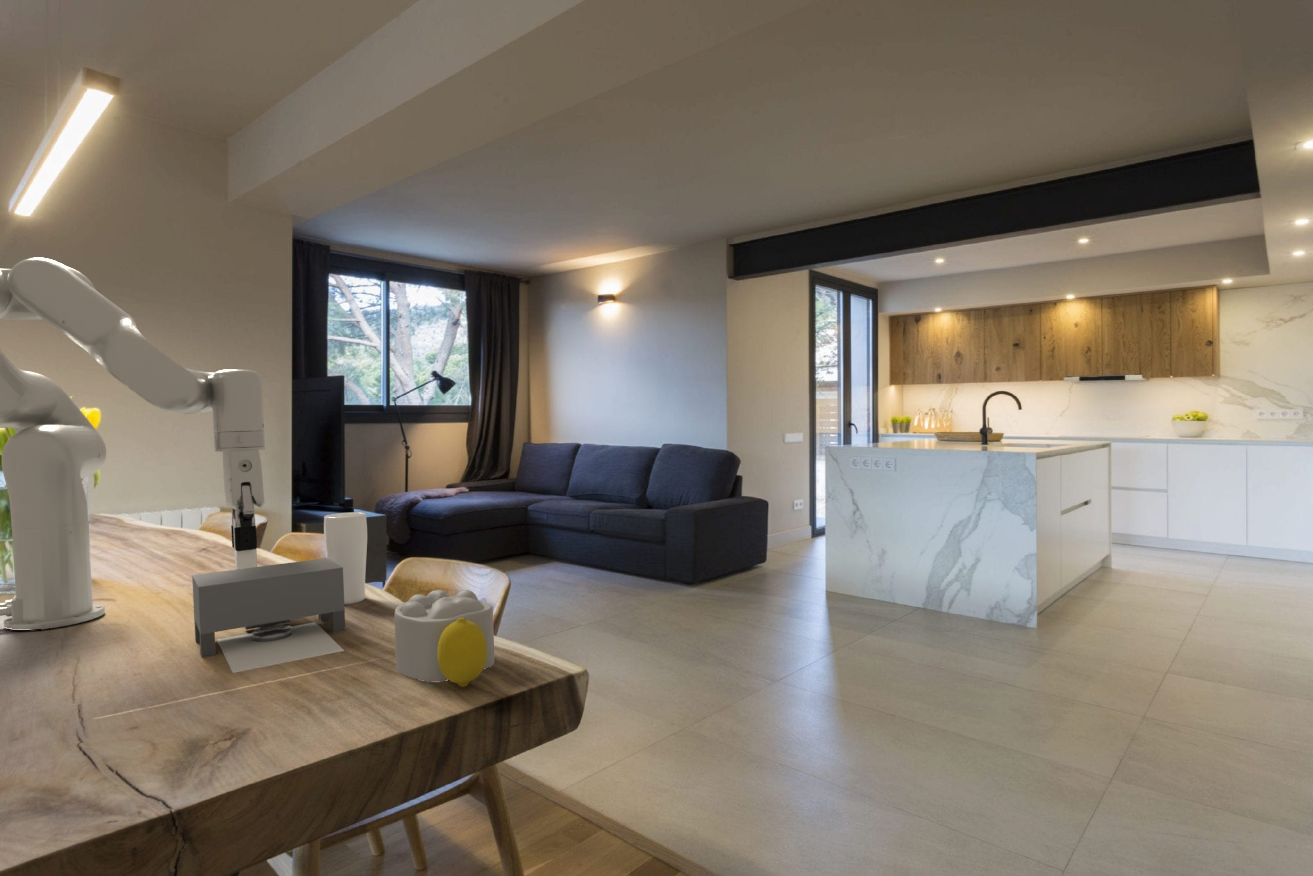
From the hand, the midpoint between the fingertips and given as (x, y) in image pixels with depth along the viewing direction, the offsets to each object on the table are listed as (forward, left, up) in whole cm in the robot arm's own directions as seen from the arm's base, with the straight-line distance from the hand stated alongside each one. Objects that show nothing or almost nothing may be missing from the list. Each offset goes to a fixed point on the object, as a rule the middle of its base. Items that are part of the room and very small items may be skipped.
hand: (244, 547), depth 126 cm
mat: (0, -31, -10) cm, 33 cm away
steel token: (0, -26, -10) cm, 28 cm away
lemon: (+14, -63, -10) cm, 65 cm away
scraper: (0, -9, -9) cm, 13 cm away
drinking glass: (+14, -11, -10) cm, 20 cm away
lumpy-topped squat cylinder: (+15, -53, -10) cm, 56 cm away
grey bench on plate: (0, -25, -10) cm, 27 cm away
